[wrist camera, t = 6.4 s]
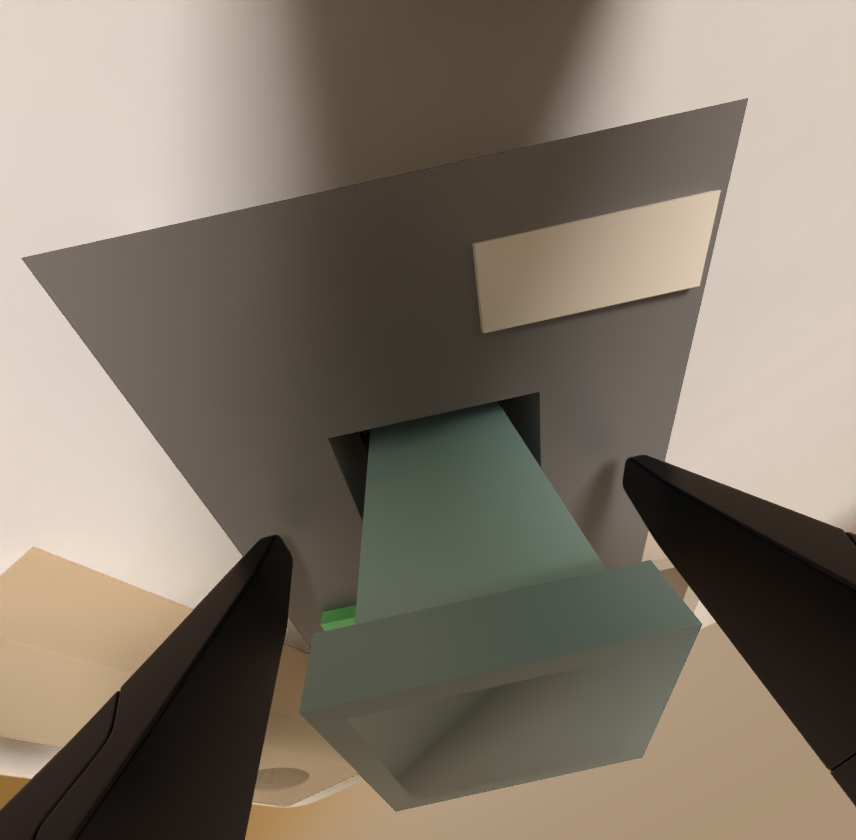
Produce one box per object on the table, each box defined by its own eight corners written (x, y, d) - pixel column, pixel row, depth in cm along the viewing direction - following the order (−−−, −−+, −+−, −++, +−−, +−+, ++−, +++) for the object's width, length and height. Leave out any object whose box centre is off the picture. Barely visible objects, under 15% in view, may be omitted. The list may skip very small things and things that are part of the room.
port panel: (629, 140, 8) (772, 88, 5) (591, 532, 15) (640, 605, 12) (140, 249, 8) (-4, 260, 5) (333, 588, 15) (320, 675, 12)
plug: (493, 363, 10) (702, 623, 4) (502, 469, 13) (642, 756, 6) (356, 393, 10) (298, 712, 4) (390, 494, 13) (395, 811, 6)
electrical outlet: (-92, 658, 9) (379, 767, 17) (43, 537, 12) (380, 674, 20) (-173, 750, 11) (287, 810, 19) (-35, 622, 14) (303, 718, 22)
